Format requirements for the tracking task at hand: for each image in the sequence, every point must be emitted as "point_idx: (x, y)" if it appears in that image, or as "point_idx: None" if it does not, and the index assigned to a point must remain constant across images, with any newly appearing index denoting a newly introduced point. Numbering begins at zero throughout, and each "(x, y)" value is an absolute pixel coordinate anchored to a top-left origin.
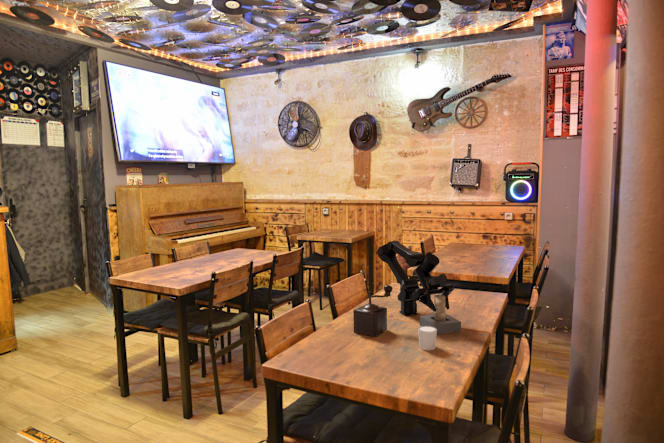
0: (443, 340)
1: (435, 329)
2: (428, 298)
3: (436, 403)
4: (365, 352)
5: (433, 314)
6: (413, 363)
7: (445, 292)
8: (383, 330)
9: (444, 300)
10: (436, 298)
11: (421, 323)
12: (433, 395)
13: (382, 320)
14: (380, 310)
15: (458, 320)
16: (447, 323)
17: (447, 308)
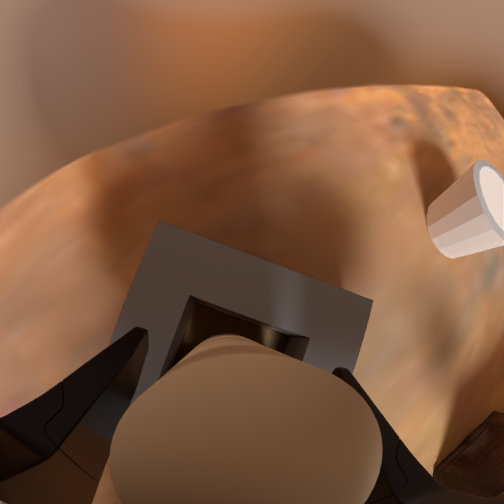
0: (359, 226)
1: (480, 167)
2: (435, 492)
3: (492, 106)
4: None
5: None
6: None
7: (3, 475)
8: (471, 440)
9: (230, 350)
10: (371, 450)
11: None
12: (493, 114)
13: (497, 453)
14: None
15: (146, 250)
16: (274, 264)
17: (146, 350)
